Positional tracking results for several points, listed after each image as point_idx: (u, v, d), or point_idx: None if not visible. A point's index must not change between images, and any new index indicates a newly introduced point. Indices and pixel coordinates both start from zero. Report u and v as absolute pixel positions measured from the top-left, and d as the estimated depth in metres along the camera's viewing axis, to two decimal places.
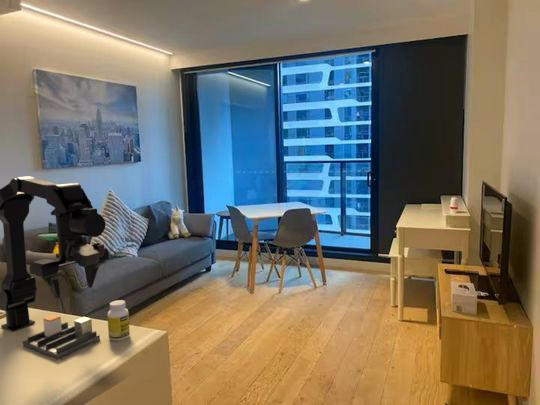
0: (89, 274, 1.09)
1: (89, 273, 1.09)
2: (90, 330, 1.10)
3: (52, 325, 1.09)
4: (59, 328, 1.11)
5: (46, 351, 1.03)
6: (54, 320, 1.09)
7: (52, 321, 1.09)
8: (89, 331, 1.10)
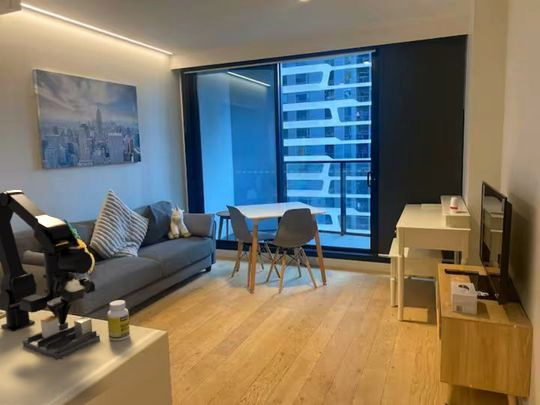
0: None
1: None
2: (90, 330, 1.10)
3: (49, 326, 1.08)
4: (57, 329, 1.10)
5: (46, 351, 1.03)
6: (51, 321, 1.09)
7: (49, 322, 1.08)
8: (89, 331, 1.10)
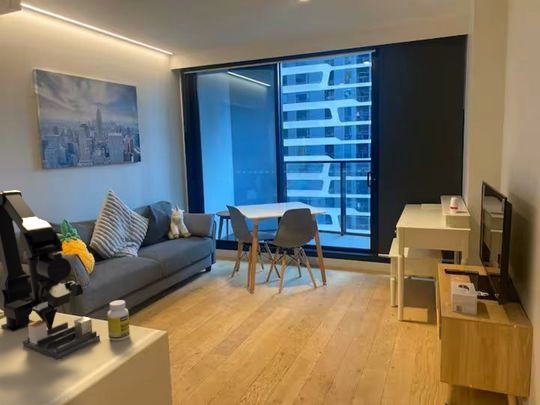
0: None
1: None
2: (90, 330, 1.10)
3: (37, 331, 1.05)
4: (45, 334, 1.07)
5: (46, 351, 1.03)
6: (39, 326, 1.06)
7: (37, 327, 1.05)
8: (89, 331, 1.10)
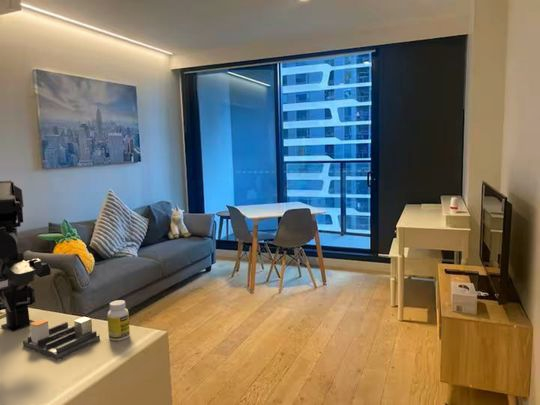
0: (11, 297, 1.01)
1: (11, 296, 1.01)
2: (90, 330, 1.10)
3: (39, 330, 1.06)
4: (46, 333, 1.08)
5: (46, 351, 1.03)
6: (41, 325, 1.06)
7: (39, 326, 1.06)
8: (89, 331, 1.10)
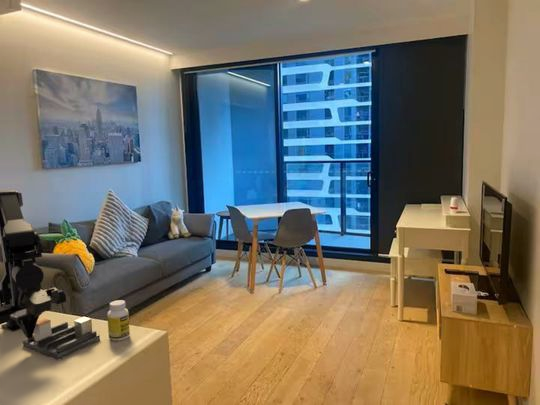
0: (29, 324, 1.05)
1: (29, 323, 1.05)
2: (90, 330, 1.10)
3: (41, 329, 1.06)
4: (49, 332, 1.08)
5: (46, 351, 1.03)
6: (44, 324, 1.07)
7: (41, 325, 1.06)
8: (89, 331, 1.10)
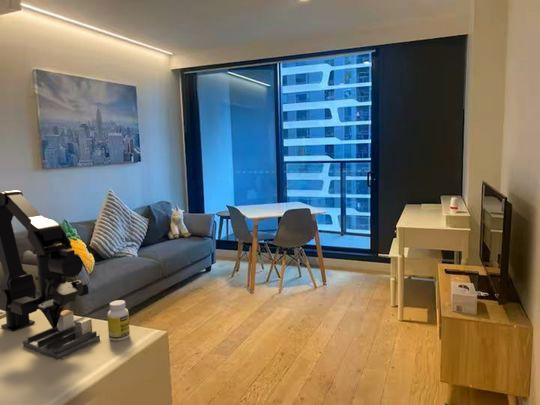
0: None
1: None
2: (90, 330, 1.10)
3: (65, 320, 1.12)
4: (72, 323, 1.14)
5: (46, 351, 1.03)
6: (67, 315, 1.12)
7: (65, 316, 1.12)
8: (89, 331, 1.10)
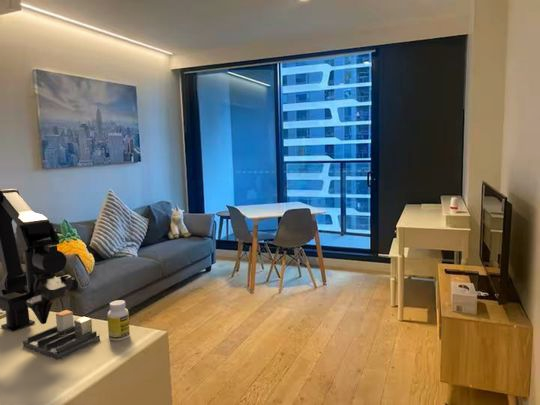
0: None
1: (43, 309, 1.09)
2: (90, 330, 1.10)
3: (64, 320, 1.12)
4: (71, 323, 1.14)
5: (46, 351, 1.03)
6: (66, 315, 1.12)
7: (64, 316, 1.12)
8: (89, 331, 1.10)
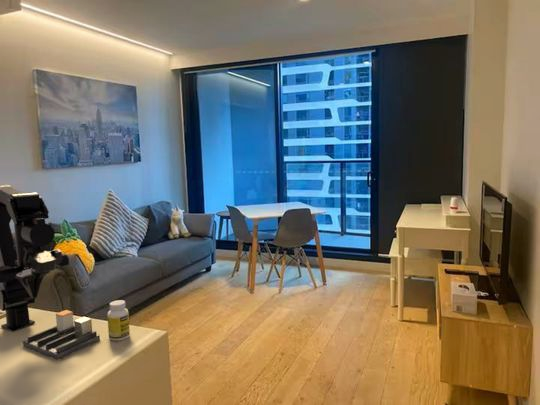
0: (33, 285, 1.10)
1: None
2: (90, 330, 1.10)
3: (64, 320, 1.12)
4: (71, 323, 1.14)
5: (46, 351, 1.03)
6: (66, 315, 1.12)
7: (64, 316, 1.12)
8: (89, 331, 1.10)
